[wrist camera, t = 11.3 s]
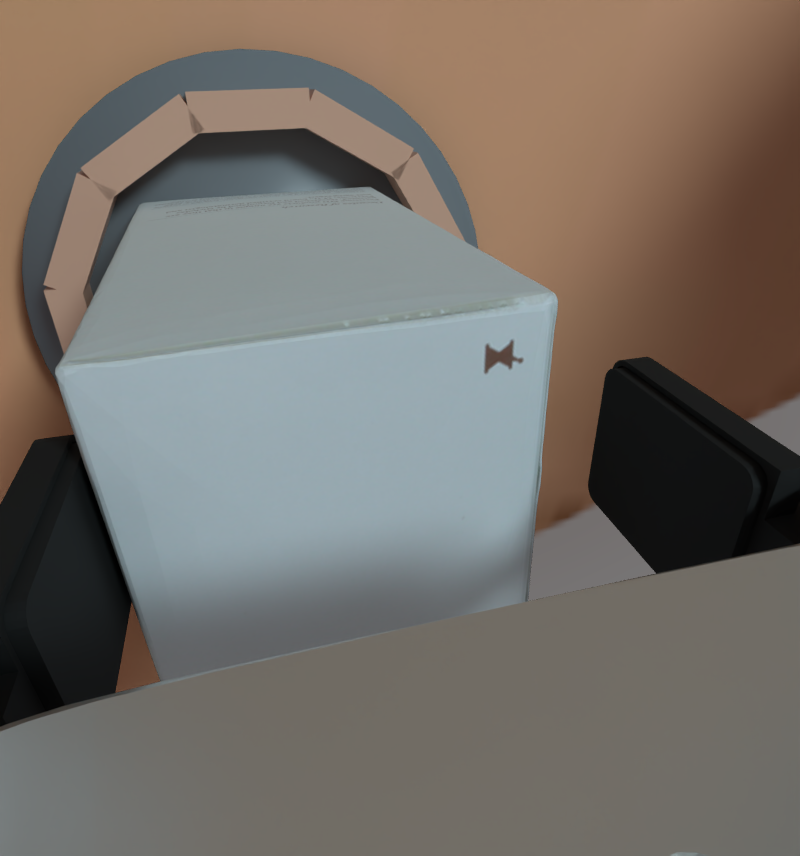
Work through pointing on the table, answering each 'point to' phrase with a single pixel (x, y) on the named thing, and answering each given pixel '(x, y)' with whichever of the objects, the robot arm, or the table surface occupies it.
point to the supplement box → (308, 422)
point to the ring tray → (216, 163)
